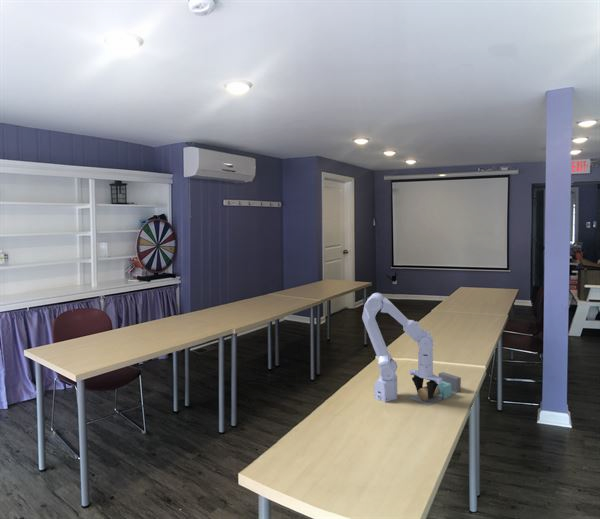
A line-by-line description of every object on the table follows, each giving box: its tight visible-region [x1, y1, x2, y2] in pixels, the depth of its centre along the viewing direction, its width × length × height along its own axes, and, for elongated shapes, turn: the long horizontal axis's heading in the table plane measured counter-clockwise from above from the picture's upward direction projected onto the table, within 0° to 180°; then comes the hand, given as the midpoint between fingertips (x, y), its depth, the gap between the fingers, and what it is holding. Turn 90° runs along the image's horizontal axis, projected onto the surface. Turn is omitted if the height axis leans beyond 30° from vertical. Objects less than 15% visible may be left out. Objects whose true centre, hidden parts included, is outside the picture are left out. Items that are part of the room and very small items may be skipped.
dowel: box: [417, 385, 440, 400], centre depth 184 cm, size 8×5×5 cm, turn 127°
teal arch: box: [427, 380, 452, 400], centre depth 189 cm, size 5×8×5 cm, turn 37°
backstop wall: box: [437, 371, 462, 394], centre depth 195 cm, size 3×9×6 cm, turn 37°
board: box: [408, 391, 457, 406], centre depth 188 cm, size 20×10×1 cm, turn 127°
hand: (425, 396), depth 183 cm, fingers closed on dowel, 5 cm apart
